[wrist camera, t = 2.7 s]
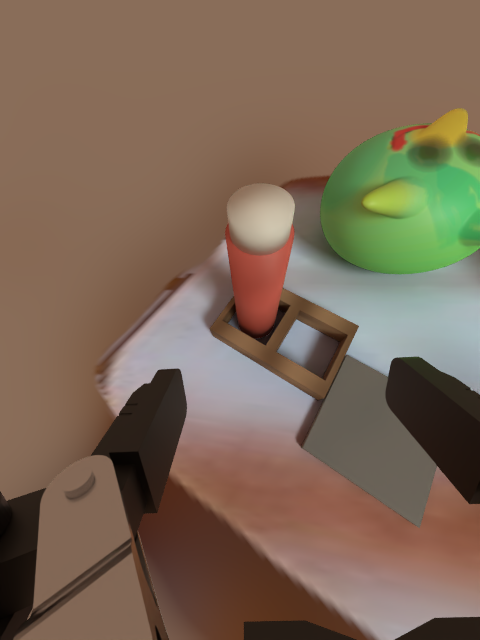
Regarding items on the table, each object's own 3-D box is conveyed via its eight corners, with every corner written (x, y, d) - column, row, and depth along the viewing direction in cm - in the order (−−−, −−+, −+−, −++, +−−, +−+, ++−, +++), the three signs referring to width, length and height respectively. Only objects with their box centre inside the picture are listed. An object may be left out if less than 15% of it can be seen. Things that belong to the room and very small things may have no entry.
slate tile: (344, 356, 27) (346, 355, 26) (445, 411, 24) (451, 411, 23) (300, 447, 23) (302, 448, 23) (413, 524, 20) (419, 528, 20)
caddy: (213, 336, 29) (209, 328, 26) (251, 283, 31) (251, 272, 29) (317, 400, 25) (324, 398, 23) (350, 334, 28) (358, 326, 26)
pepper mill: (250, 299, 30) (248, 171, 15) (281, 315, 29) (313, 195, 14) (231, 326, 29) (206, 216, 13) (262, 345, 28) (275, 248, 12)
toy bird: (432, 212, 35) (544, 82, 22) (455, 312, 28) (636, 212, 15) (311, 204, 37) (344, 79, 24) (306, 295, 30) (348, 194, 17)
